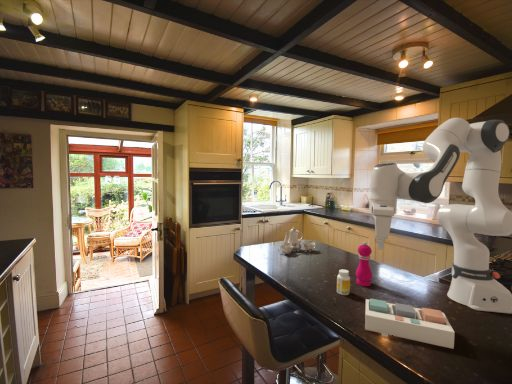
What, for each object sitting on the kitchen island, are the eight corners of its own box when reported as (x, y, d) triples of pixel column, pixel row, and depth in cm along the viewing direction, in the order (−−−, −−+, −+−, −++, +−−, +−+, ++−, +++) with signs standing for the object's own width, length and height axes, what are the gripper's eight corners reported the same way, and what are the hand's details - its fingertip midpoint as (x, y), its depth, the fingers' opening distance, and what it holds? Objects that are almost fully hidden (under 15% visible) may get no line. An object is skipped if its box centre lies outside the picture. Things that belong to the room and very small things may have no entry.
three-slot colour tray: (442, 327, 88) (443, 312, 87) (453, 348, 77) (454, 331, 76) (365, 312, 97) (365, 298, 97) (365, 329, 86) (365, 314, 86)
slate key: (412, 314, 89) (412, 305, 89) (414, 322, 84) (415, 313, 84) (394, 311, 91) (395, 302, 91) (396, 318, 86) (396, 309, 86)
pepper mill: (373, 287, 119) (375, 244, 118) (356, 286, 120) (358, 243, 119) (369, 281, 126) (371, 240, 125) (354, 279, 127) (355, 239, 126)
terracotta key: (440, 319, 86) (440, 310, 86) (444, 327, 81) (445, 318, 81) (421, 316, 88) (422, 307, 88) (424, 324, 83) (425, 314, 83)
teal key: (385, 309, 92) (386, 301, 92) (386, 316, 87) (387, 308, 87) (369, 306, 94) (370, 298, 94) (370, 313, 89) (370, 304, 89)
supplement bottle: (334, 292, 113) (335, 270, 113) (340, 288, 117) (340, 267, 117) (346, 296, 110) (347, 274, 109) (351, 292, 114) (352, 270, 113)
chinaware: (285, 260, 162) (287, 234, 160) (270, 250, 177) (272, 226, 174) (319, 253, 176) (321, 230, 173) (303, 245, 190) (305, 223, 188)
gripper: (372, 205, 104) (370, 239, 105) (373, 209, 86) (370, 251, 86) (390, 206, 102) (388, 241, 103) (394, 211, 83) (392, 254, 84)
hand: (380, 246), depth 94 cm, fingers open, 8 cm apart
